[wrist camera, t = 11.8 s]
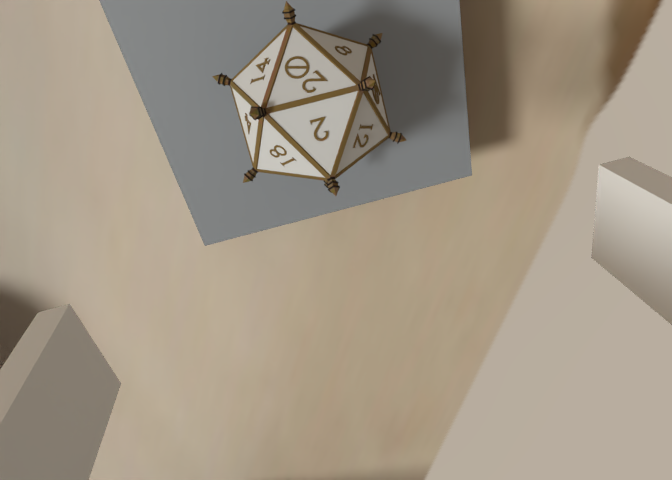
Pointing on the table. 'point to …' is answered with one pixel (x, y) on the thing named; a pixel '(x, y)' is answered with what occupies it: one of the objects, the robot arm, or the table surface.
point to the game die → (310, 104)
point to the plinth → (223, 121)
